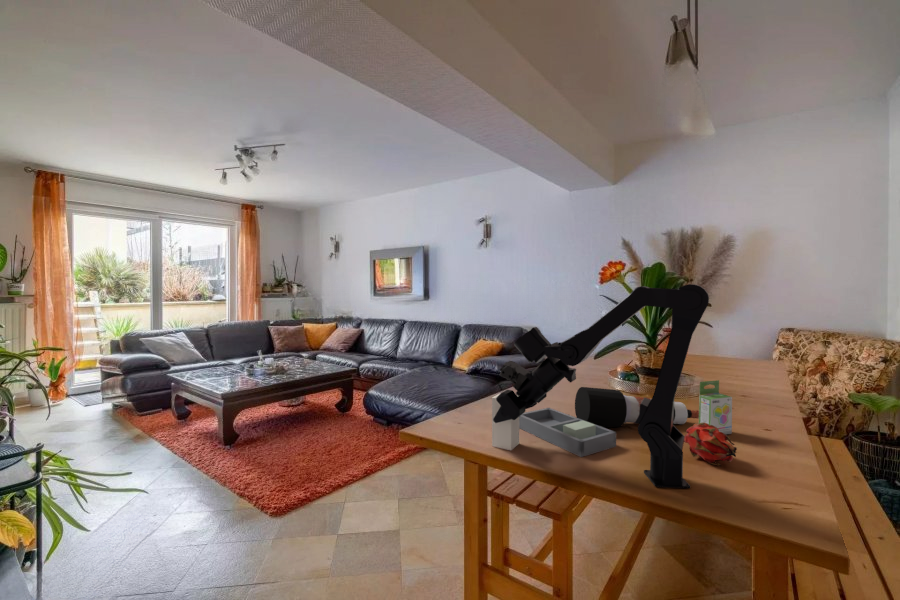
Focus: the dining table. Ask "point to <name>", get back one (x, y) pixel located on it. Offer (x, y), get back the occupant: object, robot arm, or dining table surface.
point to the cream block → (504, 430)
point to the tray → (567, 431)
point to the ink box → (715, 407)
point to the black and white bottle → (617, 407)
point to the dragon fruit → (709, 443)
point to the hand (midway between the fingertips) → (500, 417)
